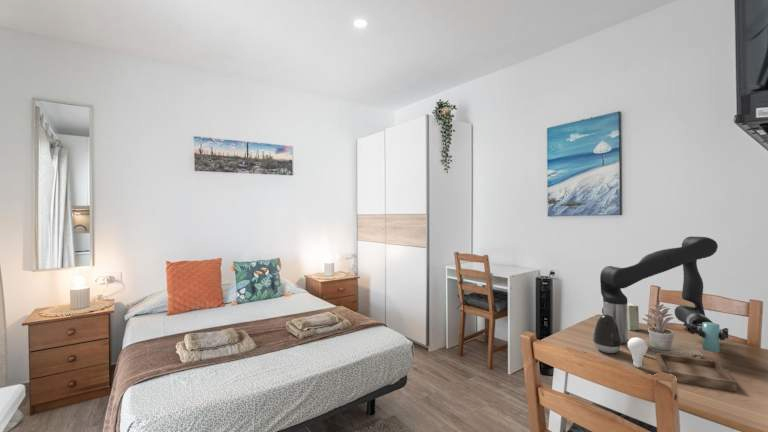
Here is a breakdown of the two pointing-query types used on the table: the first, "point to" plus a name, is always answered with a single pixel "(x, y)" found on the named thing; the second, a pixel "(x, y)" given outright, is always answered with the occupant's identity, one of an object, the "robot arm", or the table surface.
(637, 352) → the lightbulb
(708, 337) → the teal canister
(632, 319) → the skincare box
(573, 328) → the table surface
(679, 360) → the walnut tray
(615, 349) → the black rounded dome
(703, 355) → the table surface
